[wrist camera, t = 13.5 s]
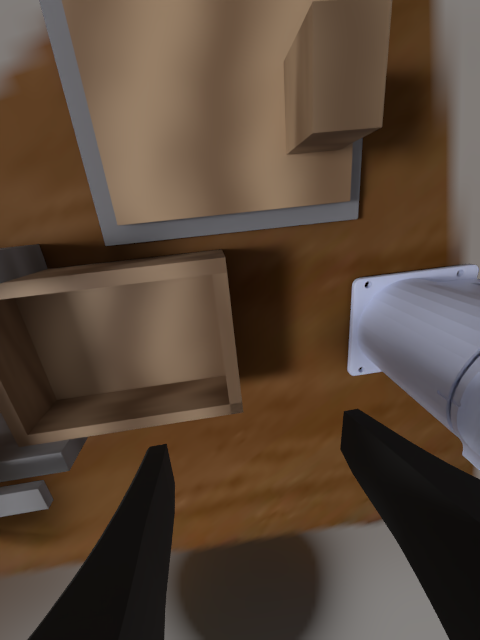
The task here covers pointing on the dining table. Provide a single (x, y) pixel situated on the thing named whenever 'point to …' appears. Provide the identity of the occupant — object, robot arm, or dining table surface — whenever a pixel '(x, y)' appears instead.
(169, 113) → the toolbox lid
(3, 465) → the toolbox
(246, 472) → the dining table surface
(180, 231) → the lid mat
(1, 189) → the dining table surface
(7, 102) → the dining table surface
